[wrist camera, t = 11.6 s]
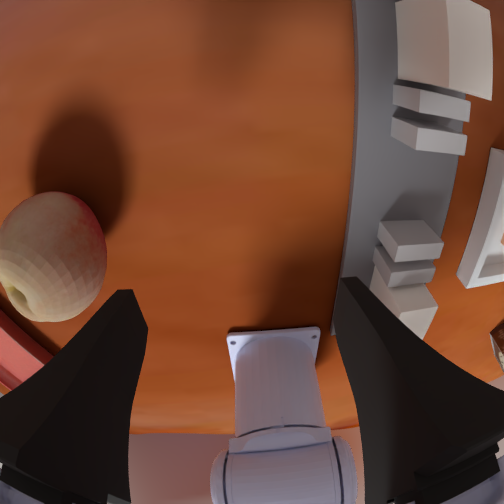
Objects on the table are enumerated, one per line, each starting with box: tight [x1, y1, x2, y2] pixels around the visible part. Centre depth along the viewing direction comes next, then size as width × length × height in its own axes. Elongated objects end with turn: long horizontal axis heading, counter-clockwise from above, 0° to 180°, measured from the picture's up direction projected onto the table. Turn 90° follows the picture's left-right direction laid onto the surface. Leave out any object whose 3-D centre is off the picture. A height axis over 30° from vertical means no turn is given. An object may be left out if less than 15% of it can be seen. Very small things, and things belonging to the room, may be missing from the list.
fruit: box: [0, 191, 107, 322], centre depth 15 cm, size 8×8×8 cm
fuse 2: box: [395, 0, 493, 100], centre depth 10 cm, size 5×3×5 cm, turn 3°
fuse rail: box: [330, 0, 471, 335], centre depth 16 cm, size 28×8×4 cm, turn 3°
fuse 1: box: [369, 266, 438, 339], centre depth 20 cm, size 5×3×5 cm, turn 3°
